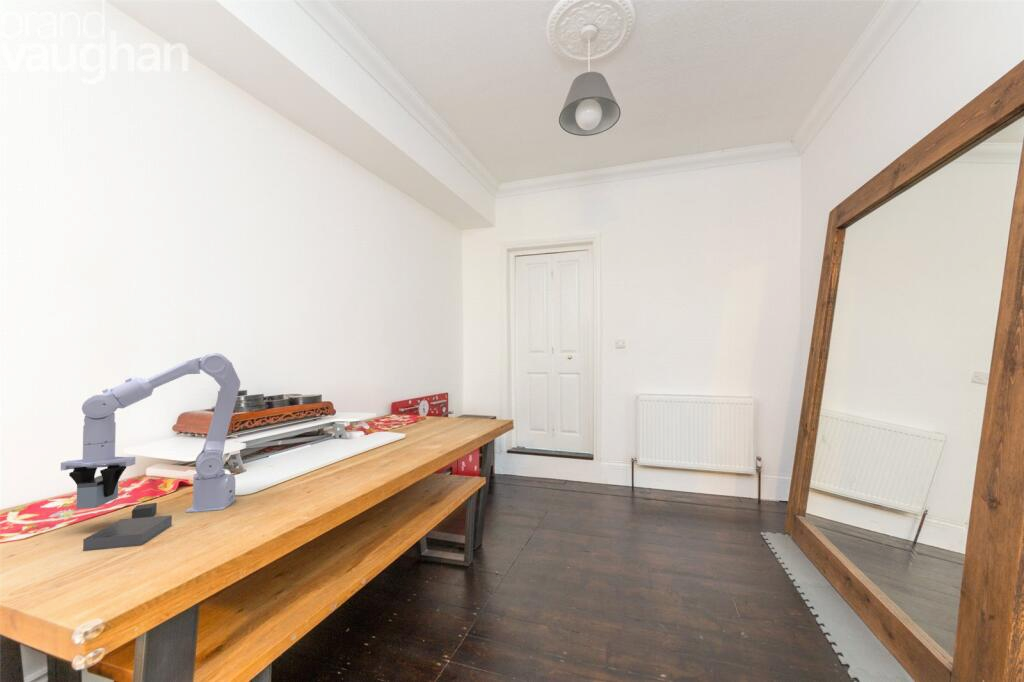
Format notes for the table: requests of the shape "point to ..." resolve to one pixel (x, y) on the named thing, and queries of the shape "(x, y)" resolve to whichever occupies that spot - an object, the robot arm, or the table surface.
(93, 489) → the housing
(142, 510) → the rubber block
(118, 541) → the stand
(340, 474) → the table surface
